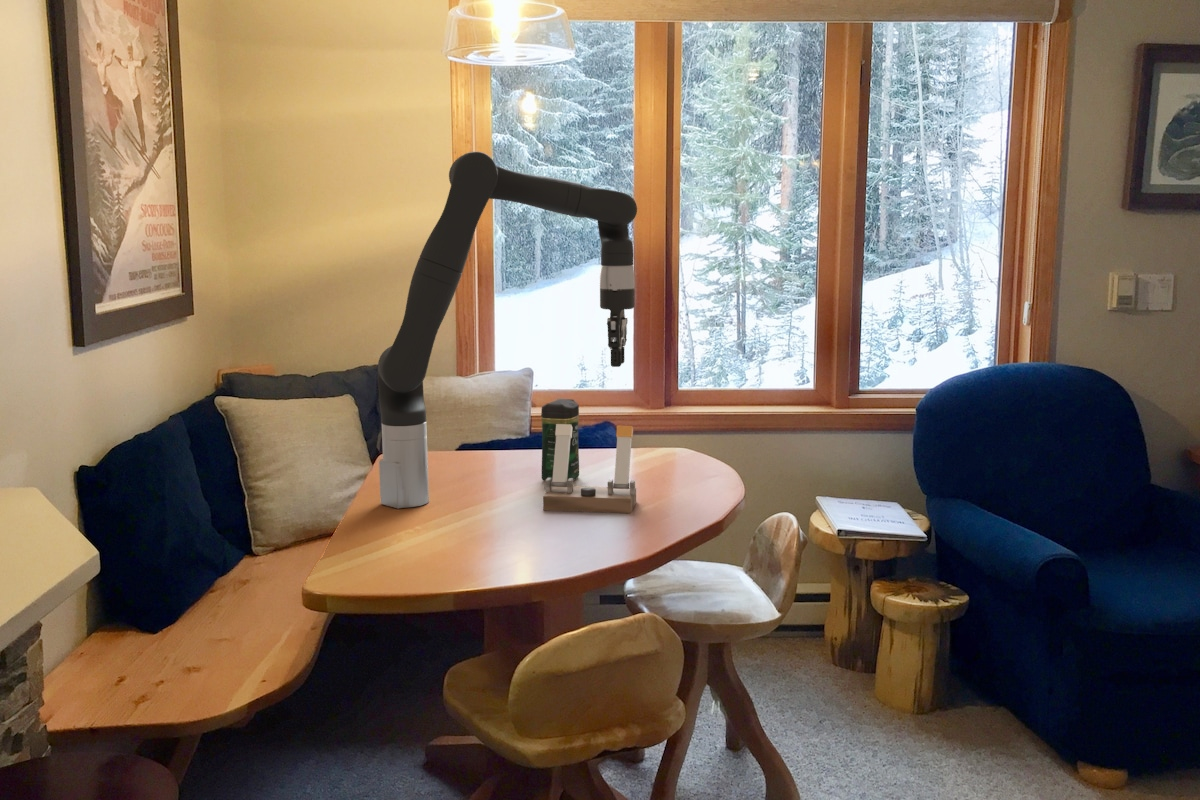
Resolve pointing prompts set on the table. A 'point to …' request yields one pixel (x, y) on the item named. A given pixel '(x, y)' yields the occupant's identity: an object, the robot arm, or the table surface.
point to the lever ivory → (561, 455)
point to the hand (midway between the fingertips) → (617, 364)
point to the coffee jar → (550, 416)
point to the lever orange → (623, 457)
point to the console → (589, 498)
